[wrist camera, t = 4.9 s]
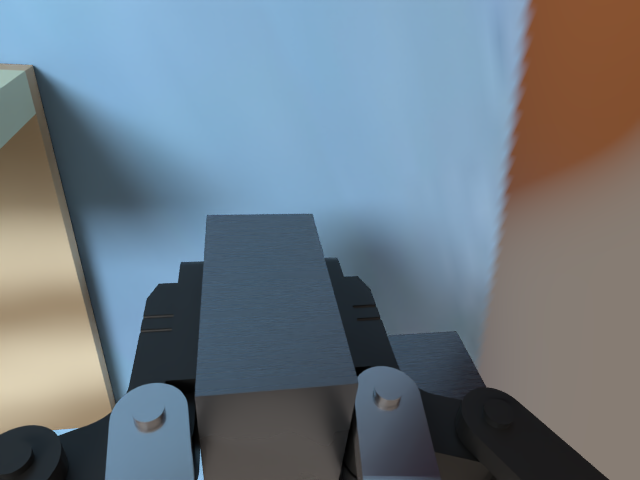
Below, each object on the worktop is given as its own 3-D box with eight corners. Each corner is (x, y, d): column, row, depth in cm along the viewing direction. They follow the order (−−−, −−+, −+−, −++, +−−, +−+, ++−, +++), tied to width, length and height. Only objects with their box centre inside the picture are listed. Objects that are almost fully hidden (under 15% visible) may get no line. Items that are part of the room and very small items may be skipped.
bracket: (207, 214, 11) (194, 396, 7) (499, 211, 12) (633, 361, 8) (218, 400, 15) (215, 582, 11) (438, 381, 16) (507, 538, 12)
